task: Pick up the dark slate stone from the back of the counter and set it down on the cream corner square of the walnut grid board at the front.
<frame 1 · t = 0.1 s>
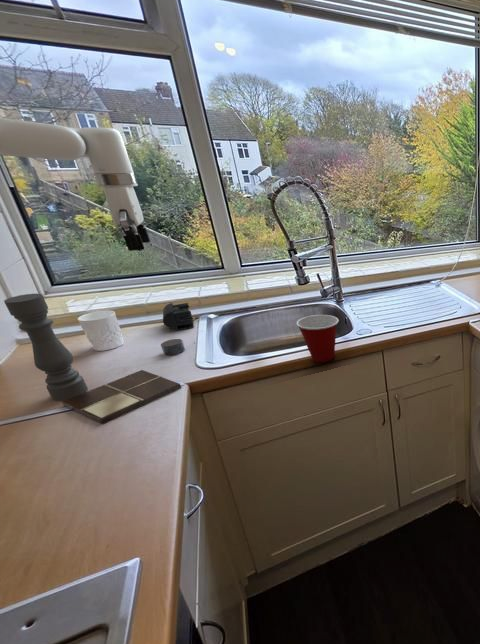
hand: (139, 246, 111), 31 cm above the worktop, tool pointing down, fingers open, 9 cm apart
white cup: (109, 346, 122), on the worktop
candle holder: (70, 394, 99), on the worktop
plastic cup: (324, 358, 118), on the worktop
end cap: (180, 326, 136), on the worktop
grid board: (125, 396, 99), on the worktop
slate stone: (174, 351, 120), on the worktop
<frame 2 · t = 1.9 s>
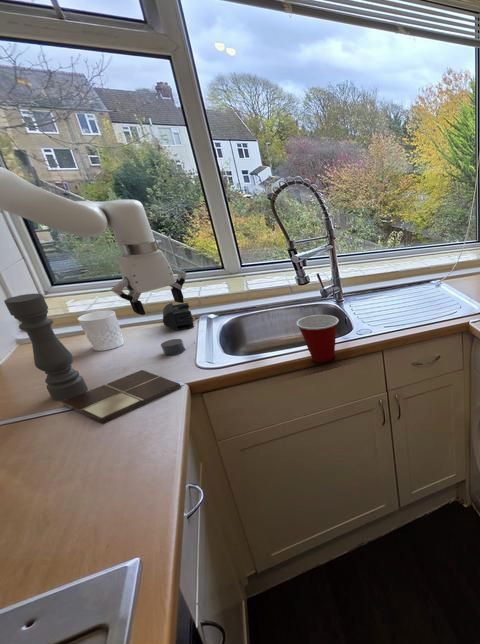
hand: (161, 307, 114), 14 cm above the worktop, tool pointing down, fingers open, 9 cm apart
nothing on the worktop moved.
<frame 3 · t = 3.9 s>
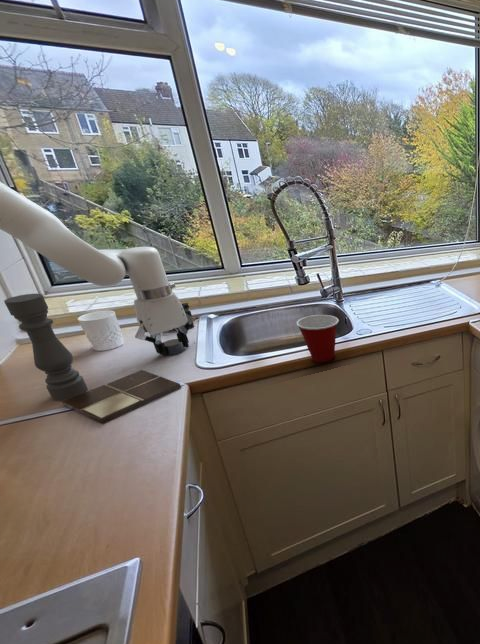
hand: (174, 349, 119), 1 cm above the worktop, tool pointing down, fingers closed on slate stone, 5 cm apart
slate stone: (174, 351, 120), on the worktop, touching gripper
everything else where it was.
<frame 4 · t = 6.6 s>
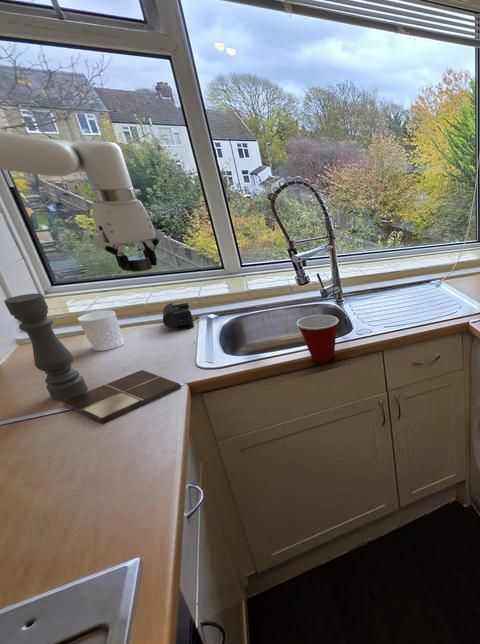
hand: (139, 266, 107), 27 cm above the worktop, tool pointing down, fingers closed on slate stone, 5 cm apart
slate stone: (140, 269, 107), point 26 cm above the worktop, touching gripper
everything else where it was.
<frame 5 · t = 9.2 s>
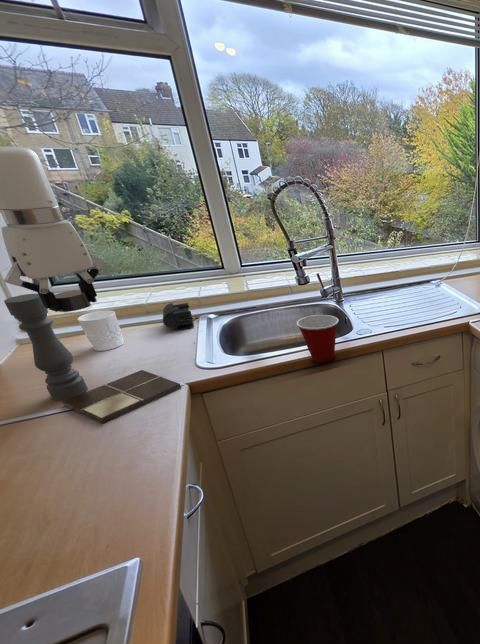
hand: (73, 304, 84), 26 cm above the worktop, tool pointing down, fingers closed on slate stone, 5 cm apart
slate stone: (74, 307, 85), point 25 cm above the worktop, touching gripper
everything else where it was.
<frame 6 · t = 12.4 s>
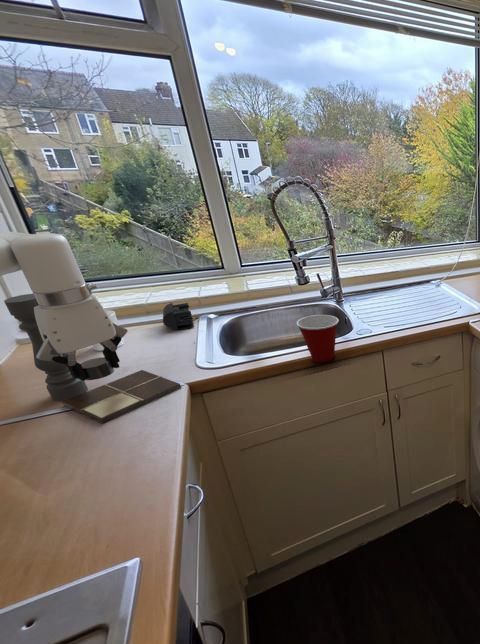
hand: (98, 371, 90), 10 cm above the worktop, tool pointing down, fingers closed on slate stone, 5 cm apart
slate stone: (99, 374, 90), point 9 cm above the worktop, touching gripper
everything else where it was.
when the fingers open (2 cm above the worktop, at t = 14.7 s): slate stone stays where it is, resting on grid board.
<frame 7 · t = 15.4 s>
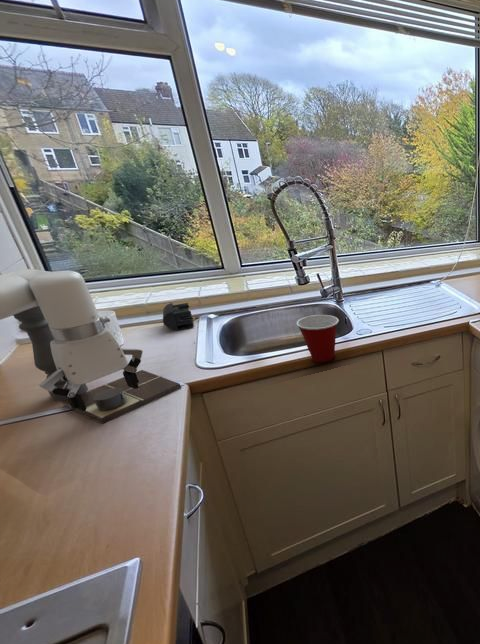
hand: (108, 397, 92), 3 cm above the worktop, tool pointing down, fingers open, 9 cm apart
slate stone: (112, 404, 93), point 1 cm above the worktop, touching grid board
everything else where it was.
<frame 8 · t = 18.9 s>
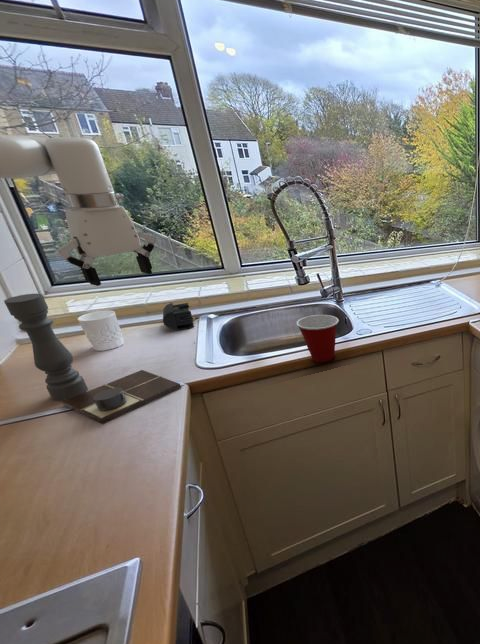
hand: (122, 278, 92), 28 cm above the worktop, tool pointing down, fingers open, 9 cm apart
nothing on the worktop moved.
at the end: slate stone inside the target area on the grid board (0.1 cm from its centre), point 1.3 cm above the grid board's base; the gripper is holding nothing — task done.
